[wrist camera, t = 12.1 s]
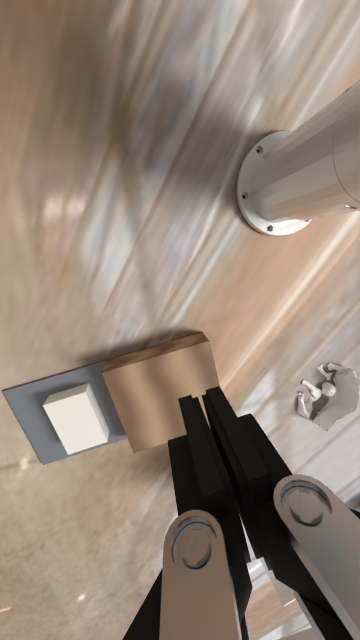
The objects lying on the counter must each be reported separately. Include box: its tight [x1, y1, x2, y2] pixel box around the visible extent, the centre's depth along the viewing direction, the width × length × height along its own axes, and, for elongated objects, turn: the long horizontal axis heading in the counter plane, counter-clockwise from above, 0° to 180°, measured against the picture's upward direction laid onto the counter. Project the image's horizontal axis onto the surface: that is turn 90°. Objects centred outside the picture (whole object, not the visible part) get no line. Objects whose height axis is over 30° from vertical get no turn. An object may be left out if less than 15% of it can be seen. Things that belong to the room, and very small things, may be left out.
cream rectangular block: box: [43, 383, 110, 455], centre depth 37 cm, size 6×9×2 cm, turn 15°
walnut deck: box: [102, 332, 220, 453], centre depth 38 cm, size 15×14×4 cm
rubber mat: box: [3, 360, 127, 465], centre depth 38 cm, size 15×14×1 cm
